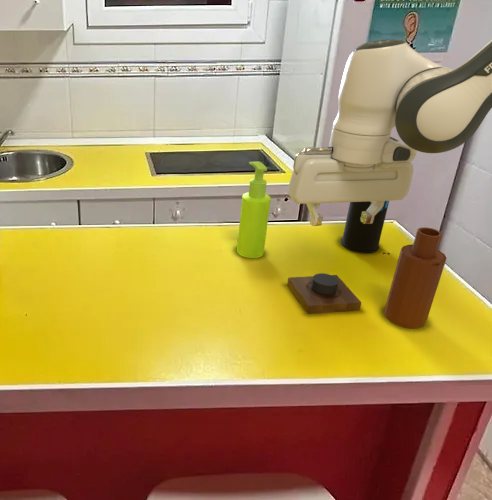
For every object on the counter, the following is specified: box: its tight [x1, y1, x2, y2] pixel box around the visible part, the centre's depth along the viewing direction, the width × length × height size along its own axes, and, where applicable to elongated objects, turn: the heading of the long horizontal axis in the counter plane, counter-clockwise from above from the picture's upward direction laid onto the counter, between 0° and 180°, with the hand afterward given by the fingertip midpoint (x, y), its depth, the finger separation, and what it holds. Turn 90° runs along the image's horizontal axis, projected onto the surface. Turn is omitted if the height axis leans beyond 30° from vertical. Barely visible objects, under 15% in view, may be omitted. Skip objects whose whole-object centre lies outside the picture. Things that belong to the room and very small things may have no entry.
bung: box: [311, 272, 338, 295], centre depth 98 cm, size 5×5×4 cm
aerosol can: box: [340, 201, 390, 254], centre depth 114 cm, size 8×8×20 cm
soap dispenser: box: [236, 160, 272, 259], centre depth 111 cm, size 6×7×20 cm
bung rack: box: [286, 274, 362, 315], centre depth 98 cm, size 10×10×2 cm
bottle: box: [383, 227, 448, 329], centre depth 89 cm, size 7×7×17 cm
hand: (340, 223), depth 91 cm, fingers open, 8 cm apart
